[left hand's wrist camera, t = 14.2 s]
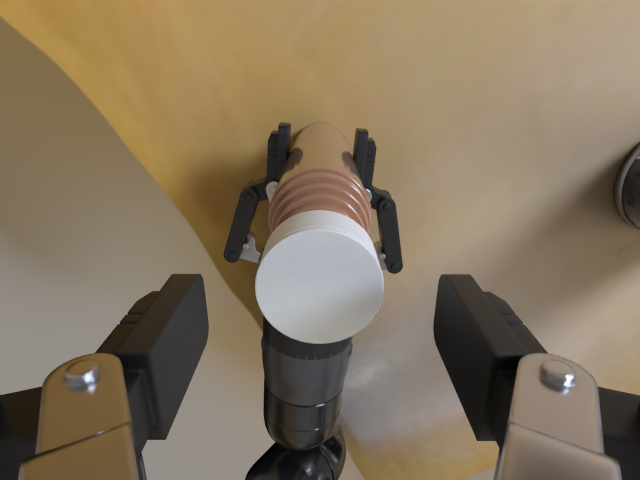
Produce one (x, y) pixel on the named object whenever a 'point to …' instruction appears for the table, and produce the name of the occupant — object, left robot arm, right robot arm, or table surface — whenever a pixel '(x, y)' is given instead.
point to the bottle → (320, 179)
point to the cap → (319, 278)
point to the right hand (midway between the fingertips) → (323, 128)
